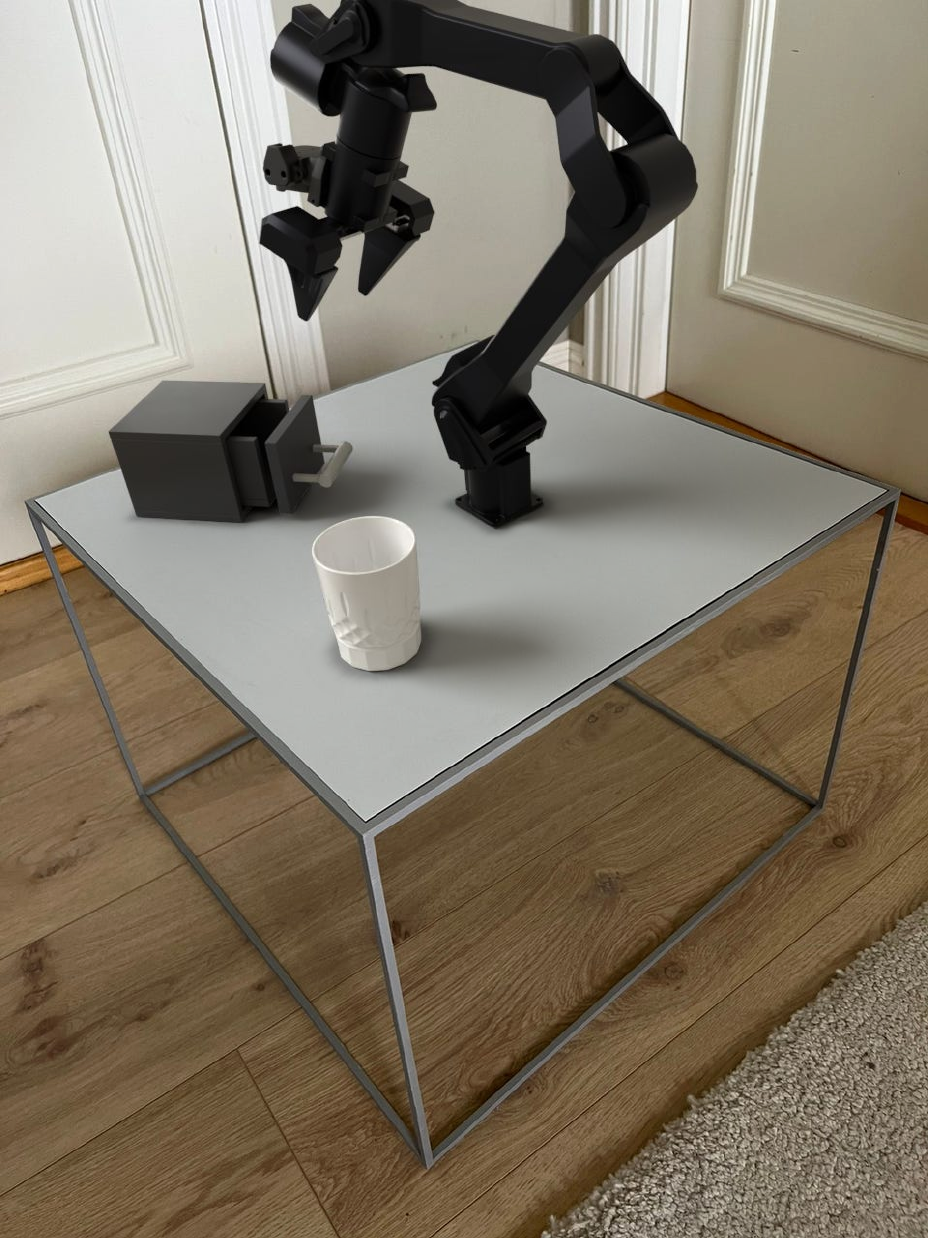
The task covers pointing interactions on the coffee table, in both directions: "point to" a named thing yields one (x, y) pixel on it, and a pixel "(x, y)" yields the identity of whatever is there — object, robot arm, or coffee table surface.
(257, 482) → the drawer
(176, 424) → the cabinet
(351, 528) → the white cup
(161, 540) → the coffee table surface
